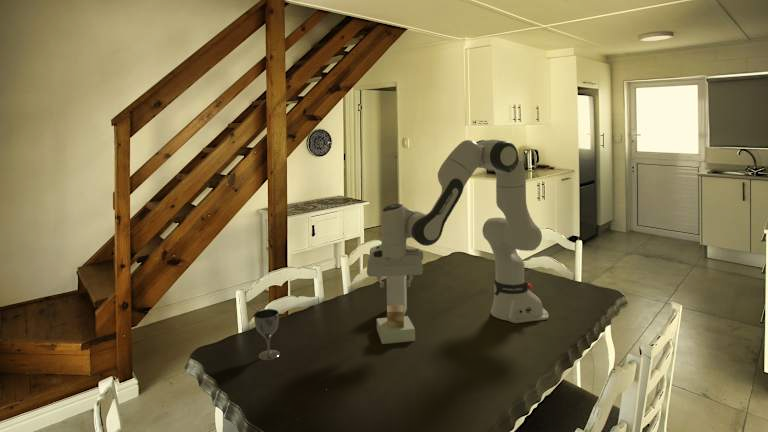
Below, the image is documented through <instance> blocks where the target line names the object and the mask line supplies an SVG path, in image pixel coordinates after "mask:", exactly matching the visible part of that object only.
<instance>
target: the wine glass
mask: <svg viewBox="0 0 768 432" xmlns="http://www.w3.org/2000/svg"><path fill="white" fill-rule="evenodd" d="M253 318H254V319H253V320H254V326H255V329H256V332H257V333H259V334H260V335H261V336H263V338H264V339H265V341H266V345H267V348H266V349H267V350H263V351H261V353H259V354H258V359H259V360H262V361H271V360H274V359H276V358H278V357H279V356H280V355H281V354H280V353H281V352H280V351H278V350H276V349H271V348H270V345H271V342H270V341H271V338H272V336H273V335H274V333H276V331H277V329H278V327H279V310H277V309H272V308H266V309H265V308H264V309H261V310H258V311H255V312H254V314H253Z"/></svg>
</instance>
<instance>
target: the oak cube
mask: <svg viewBox="0 0 768 432" xmlns="http://www.w3.org/2000/svg"><path fill="white" fill-rule="evenodd" d="M404 316H405V315H404V308H403V305H395V306H387V305H386V318H387V328H396V327H404Z"/></svg>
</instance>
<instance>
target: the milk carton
mask: <svg viewBox="0 0 768 432" xmlns="http://www.w3.org/2000/svg"><path fill="white" fill-rule="evenodd" d="M406 281H407V275H399V276H386V307H387V306H395V305H403V308H404V316H406V312H407V310H408V305H407V303H408V302H407V301H408V300H407V298H408V296H407V295H408V294H407V290H408V289H407V288H408V287H406Z"/></svg>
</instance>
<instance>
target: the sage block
mask: <svg viewBox="0 0 768 432" xmlns="http://www.w3.org/2000/svg"><path fill="white" fill-rule="evenodd" d="M376 331H377V333H378V337H379V339H380V342H381V344H382V345H385V344H394V343H395V344H397V343H404V342H405V343H406V342H407V343H408V342H415V341H416V328H415V327H414V325H413V322H412V321H411V319H410V318H409V316H408V315H404V327H396V328H387V317H380V318H376Z"/></svg>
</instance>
